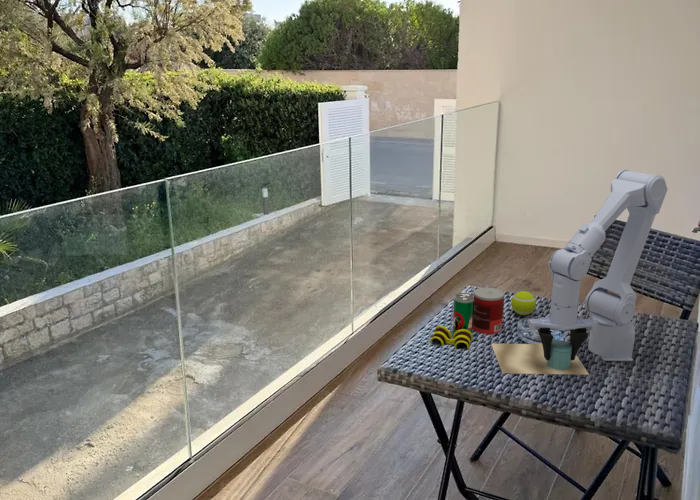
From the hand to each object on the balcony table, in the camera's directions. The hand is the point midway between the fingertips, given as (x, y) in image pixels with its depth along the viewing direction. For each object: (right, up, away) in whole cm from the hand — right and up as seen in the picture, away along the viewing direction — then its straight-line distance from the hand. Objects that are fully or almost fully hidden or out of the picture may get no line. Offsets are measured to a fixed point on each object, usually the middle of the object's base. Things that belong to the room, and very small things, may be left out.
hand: (559, 358), depth 140 cm
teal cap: (0, -2, 0) cm, 2 cm away
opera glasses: (-23, 0, +12) cm, 26 cm away
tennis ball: (+1, +7, +32) cm, 32 cm away
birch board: (-4, -2, +4) cm, 6 cm away
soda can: (-19, +2, +16) cm, 25 cm away
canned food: (-12, +3, +21) cm, 24 cm away
